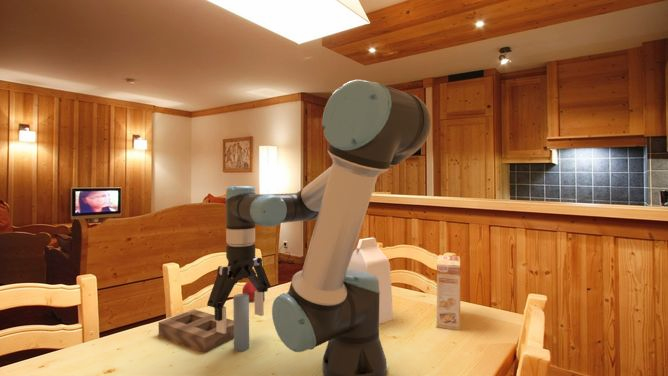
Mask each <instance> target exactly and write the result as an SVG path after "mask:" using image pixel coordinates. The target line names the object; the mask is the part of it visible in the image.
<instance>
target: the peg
mask: <svg viewBox="0 0 668 376" xmlns="http://www.w3.org/2000/svg"><path fill="white" fill-rule="evenodd" d="M232 300H233V303H232V304H233V320H234V339H233V350H234V351H235V352H245V351H248V350H249V349H250V301H249V295H248V294H243V293H238V294H235V295H233V299H232Z"/></svg>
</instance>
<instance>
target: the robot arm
mask: <svg viewBox="0 0 668 376" xmlns="http://www.w3.org/2000/svg"><path fill="white" fill-rule="evenodd" d="M321 126H322V128H323V129H324V130H323V135H324V137H325V139H326V141H327V142H328V143H329V144H328V147H327V153H328V154H329V156H330V158H331V160H332V164H331V166H329V167H328V168H327V169H326V170H325V171H323V172H322V173H321V174H320V175H318V176H317V177H316V178H314V179H313V180H312V181H311V182H309V183H308V184H307V185H306V186H304V187H303V188H302V189H300V190H298V191H297V192H294V193H290V192H289V193H267V194H266V193H261V194H260V193H257V194H256V188H255V187H254V186H251V185H231V186H228V187H227V188H226V189H225V193H226V195H225V199H224V200H225V202H224V203H225V225H226V226H225V227H226V228H225V233H226V234H225V235H226V236H225V239H226V240H225V242H226V243H227V245H226V246H225V247H226V248H225V250H226V251H225V255H226V260H227V262H228V263H227V265H226V266H223V265H222V266H221V265H219V266H218V267H217V273H216V274H217V275H216V278H215V279H214V283H213V285H212V286H213V287H212V288H211V292H210V295H209V297H208V301H207V303H206V305H207V307H210V308H214V315H215V320H216V325H217V332H220V333H223V334H225V333H226V318H227V306H225V304H226V302H227V300H228V298H229V297H230V296H231V295H230V294H231V292H232V291H233V289H234V286H235V285H236V284H238V282H239V281H242V280H244V279H248V281H249V280H250V281H251V283H252V284H253V285H254V287H255V288H256V289H257V290H258V291H255V298H254V315H257V316H261V317H262V316H264V313H265V312H264V306H265V305H264V302H265V301H266V300H265V292H268V290H269V288H270V285H271V284H270V281H269V278H268V276H267V274H266V271H265V268H264V266H263V259H262V258H261V257H257V256H256V245H255V243H256V225H259V226H262V227H276V226H279V225H280V224H285V223H293V222H294V223H295V222H305V221H306V222H310V221H313V220H316V221H315V225H314V228H313V232H312V235H311V237H310V238H311V239H310V242H309V244H308V245H309V246H308V249H307V253H306V256H305V258H304V263H303V267H302V270H299V271H297V272H296V273H294V274H293V276H292V278H291V282H290V285H289V290H288V292H287V293H284V292H283V293H281V294H279V295H278V296H277V297H275V298H274V300H273V302H272V309H271V315H272V322H273V326H274V327H275V331H276V333H277V336H278V337H279V339H280V341H281V342H282V343H283V345H284V346H286V348H288V349H289V350H290V351H292V352H295V353H302V352H305V351H308V350H314V349H315V348H316V347H318V346H321V345H322V344H325V343H327V346H326V348H325V351H324V354H323V358H322V373H323V375H325V376H386V375H387V371H388V370H387V363H388V362H387V358H386V355H385V352H384V348H383V344H382V342H381V339H380V324H379V294H380V291H379V281H378V279H377V277H376V276H375V275H373V274H370V273H367V272H362V271H354V270H347V269H348V266H349V263H350V260H351V257H352V254H353V251H354V250H355V249H356V248H355V247H356V244H357V241H358V238H359V235H360V232H361V230H362V225H363V223H364V219H365V216H366V213H367V211H368V207H369V204H370V201H371V199H372V196H373V195H372V194H373V191H374V189H375V186H376V182H377V180H378V177H379V175H381V174H383V173H385V172H387V171H389V170H390V167H395V166H398V164H401V163H402V162H403V161H405V160H406V159H408V158H409V157H411V156H413V155H414V154H415V153H416V152H418V151H419V150H420V149H421V148H422V147H423V146H424V144H425V142H426V141H427V139H428V137H430V133H431V127H432V119H431V114H430V110H429V108H428V107H427V105H426V104H425V103H424V101H423V100H422V99H421V98H419V96H417V95H415V94H413V93H410V92H407V91H402V90H399V89H395V88H394V87H390V86H387V85H385V84H381V83H379V82H377V81H376V82H375V81H368V80H364V79H354V80H350V81H348V82H346V83H344V84H343V85H342V86H341V87H338V88H337V89H335V91H334V92H332V95H330V97H329V99H328V100H327V102H326V105H325V106H324V110H323V115H322V121H321Z"/></svg>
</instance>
